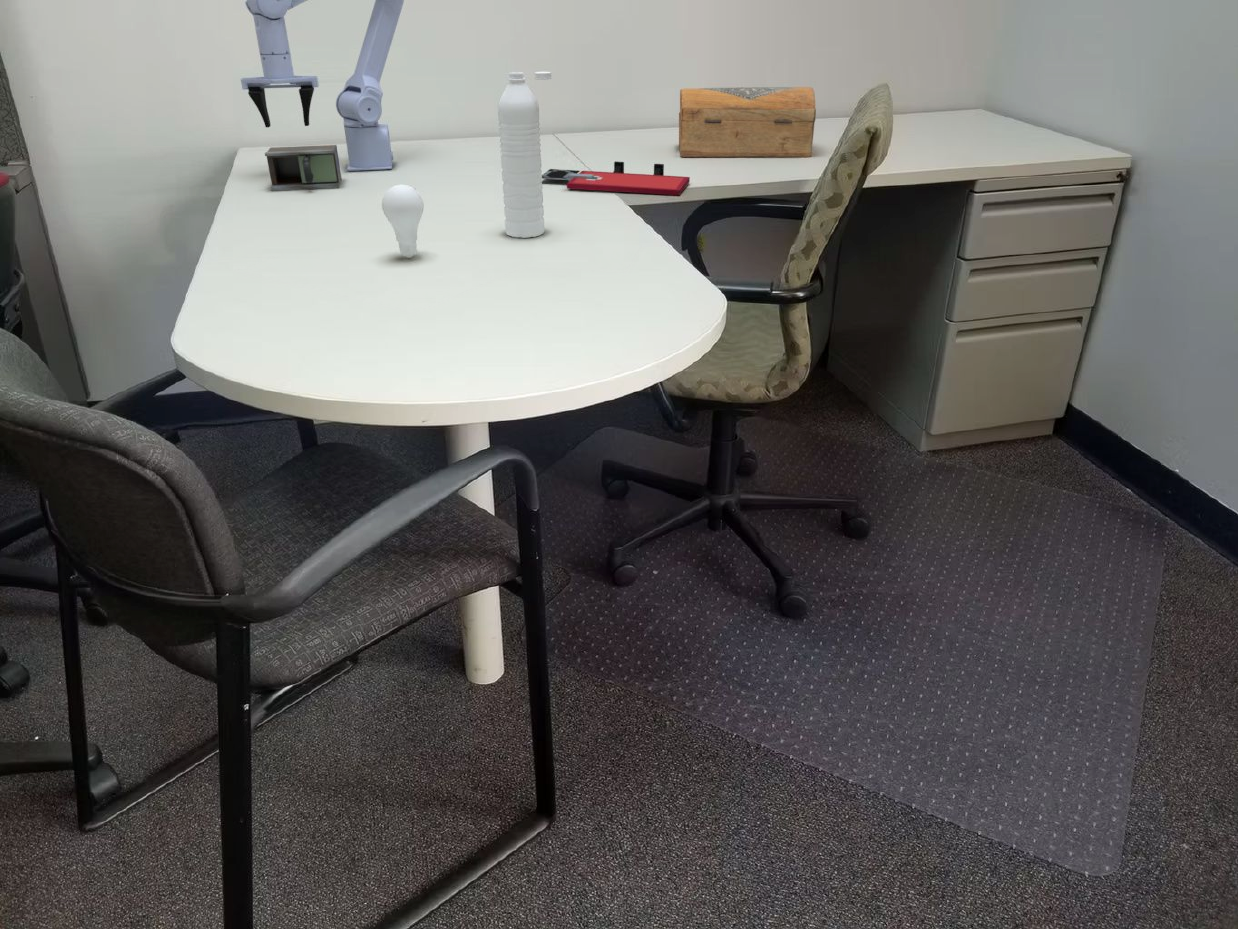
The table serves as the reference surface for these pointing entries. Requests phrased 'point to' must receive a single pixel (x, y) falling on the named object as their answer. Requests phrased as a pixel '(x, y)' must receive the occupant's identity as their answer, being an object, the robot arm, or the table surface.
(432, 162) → the table surface
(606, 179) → the red board with handle
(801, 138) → the wooden box
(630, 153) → the table surface
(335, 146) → the cabinet
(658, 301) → the table surface
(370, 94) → the robot arm
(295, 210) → the table surface
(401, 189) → the lightbulb
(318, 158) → the closet door
